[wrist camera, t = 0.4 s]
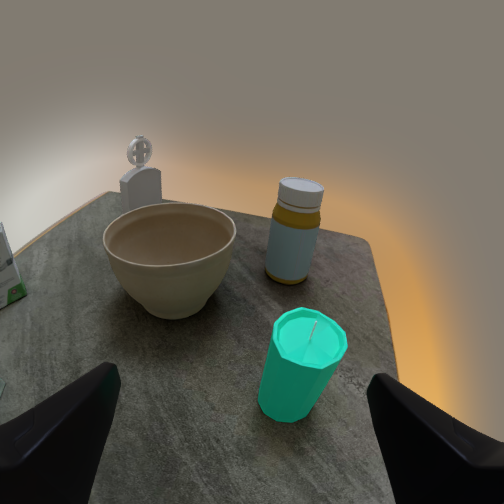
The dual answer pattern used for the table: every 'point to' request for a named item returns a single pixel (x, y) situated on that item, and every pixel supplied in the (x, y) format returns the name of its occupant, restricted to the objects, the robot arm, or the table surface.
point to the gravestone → (140, 178)
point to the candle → (299, 363)
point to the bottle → (293, 230)
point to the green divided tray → (1, 386)
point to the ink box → (9, 274)
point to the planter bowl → (170, 255)
